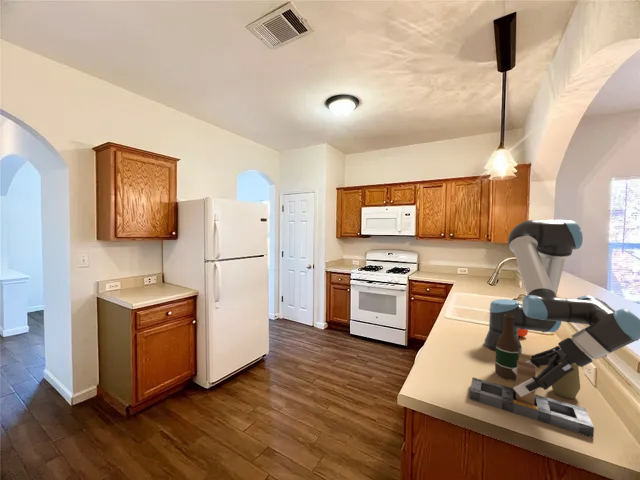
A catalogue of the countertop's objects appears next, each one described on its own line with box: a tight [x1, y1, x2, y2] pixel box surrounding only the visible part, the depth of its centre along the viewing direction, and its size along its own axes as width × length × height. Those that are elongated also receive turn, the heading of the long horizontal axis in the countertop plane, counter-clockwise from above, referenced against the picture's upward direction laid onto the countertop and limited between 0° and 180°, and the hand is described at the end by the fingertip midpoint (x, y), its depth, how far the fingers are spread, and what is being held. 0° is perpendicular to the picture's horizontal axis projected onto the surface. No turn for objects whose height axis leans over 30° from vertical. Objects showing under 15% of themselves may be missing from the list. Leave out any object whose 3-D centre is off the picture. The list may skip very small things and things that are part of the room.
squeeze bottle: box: [551, 363, 581, 400], centre depth 95 cm, size 8×8×18 cm
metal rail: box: [469, 377, 595, 438], centre depth 87 cm, size 30×10×3 cm, turn 56°
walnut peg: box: [515, 360, 537, 405], centre depth 87 cm, size 4×4×14 cm
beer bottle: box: [494, 314, 520, 381], centre depth 107 cm, size 8×8×24 cm
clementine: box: [518, 329, 529, 338], centre depth 148 cm, size 8×7×7 cm
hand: (516, 382), depth 88 cm, fingers open, 13 cm apart
